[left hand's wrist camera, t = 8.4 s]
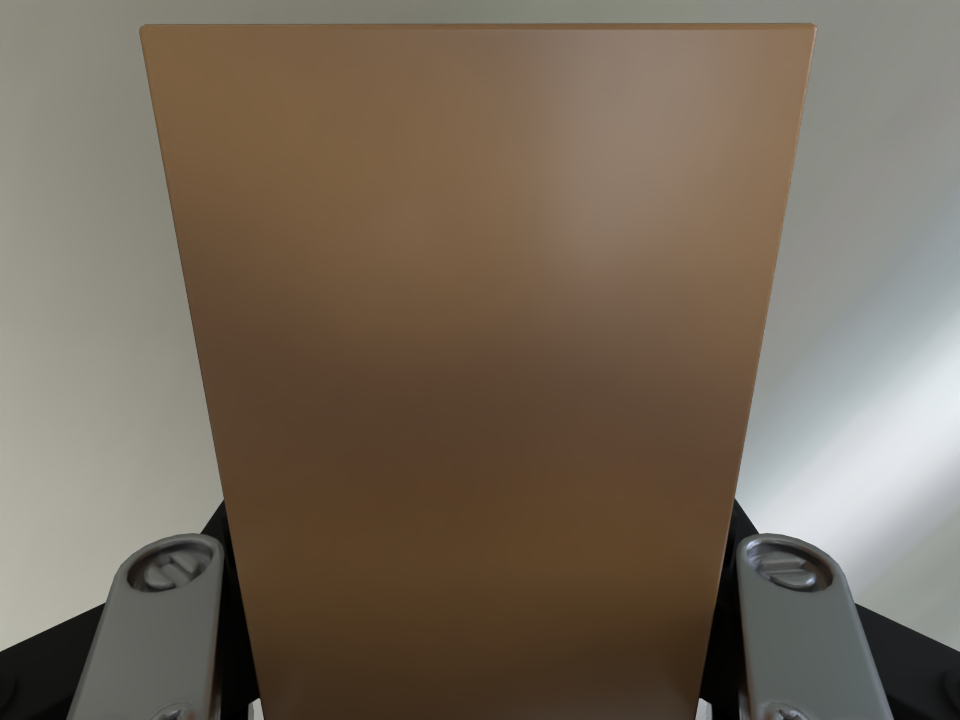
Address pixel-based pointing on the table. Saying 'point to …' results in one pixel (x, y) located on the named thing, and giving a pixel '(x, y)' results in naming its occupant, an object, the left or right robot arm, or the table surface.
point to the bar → (478, 345)
